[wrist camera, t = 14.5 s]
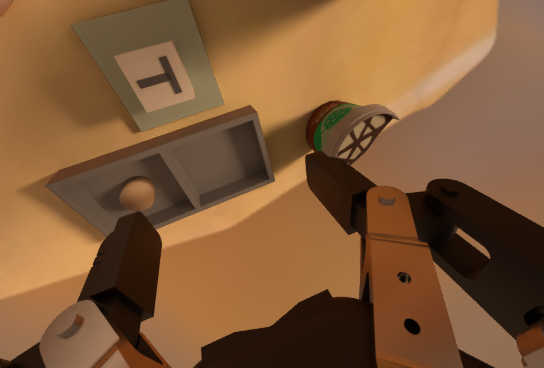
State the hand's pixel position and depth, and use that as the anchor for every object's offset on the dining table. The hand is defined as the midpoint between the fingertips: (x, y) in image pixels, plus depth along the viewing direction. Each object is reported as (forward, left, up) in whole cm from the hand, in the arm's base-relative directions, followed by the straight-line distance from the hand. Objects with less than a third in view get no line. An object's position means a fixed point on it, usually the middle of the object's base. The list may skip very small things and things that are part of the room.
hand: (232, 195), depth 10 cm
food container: (+9, +17, -22) cm, 30 cm away
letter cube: (-4, -3, -21) cm, 22 cm away
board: (-4, -3, -22) cm, 23 cm away
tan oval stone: (+9, -13, -22) cm, 27 cm away
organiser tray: (+9, -7, -22) cm, 25 cm away
